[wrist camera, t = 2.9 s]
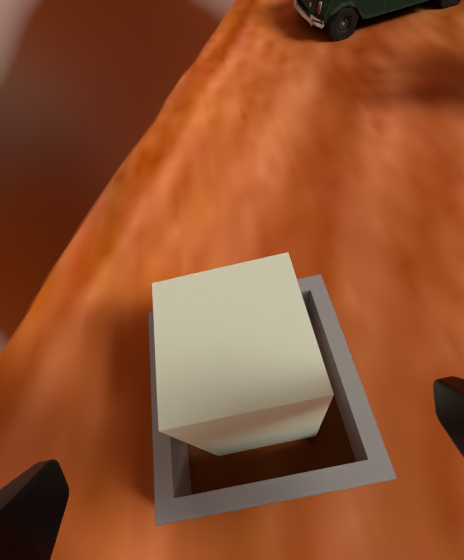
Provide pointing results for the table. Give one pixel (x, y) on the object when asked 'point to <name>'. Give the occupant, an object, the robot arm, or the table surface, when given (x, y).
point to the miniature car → (351, 12)
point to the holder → (366, 470)
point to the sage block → (237, 358)
